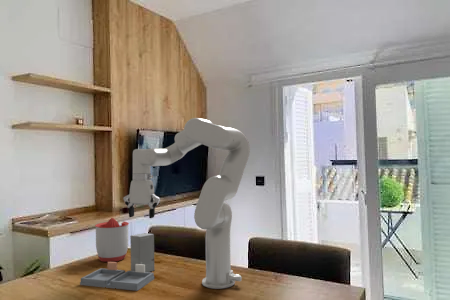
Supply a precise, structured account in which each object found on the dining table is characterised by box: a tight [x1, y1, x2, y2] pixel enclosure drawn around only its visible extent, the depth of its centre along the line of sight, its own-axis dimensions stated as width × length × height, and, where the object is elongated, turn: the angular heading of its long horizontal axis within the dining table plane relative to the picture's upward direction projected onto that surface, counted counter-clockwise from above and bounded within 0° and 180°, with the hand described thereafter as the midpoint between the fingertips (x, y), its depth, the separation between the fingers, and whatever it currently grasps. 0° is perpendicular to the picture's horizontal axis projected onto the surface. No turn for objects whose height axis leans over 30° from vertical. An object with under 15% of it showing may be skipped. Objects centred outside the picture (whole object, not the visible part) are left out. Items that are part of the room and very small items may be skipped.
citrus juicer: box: [94, 217, 130, 263], centre depth 171 cm, size 16×17×20 cm
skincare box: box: [130, 232, 155, 273], centre depth 151 cm, size 8×7×16 cm
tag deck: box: [79, 261, 155, 291], centre depth 139 cm, size 25×13×6 cm, turn 74°
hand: (141, 217), depth 152 cm, fingers open, 9 cm apart
